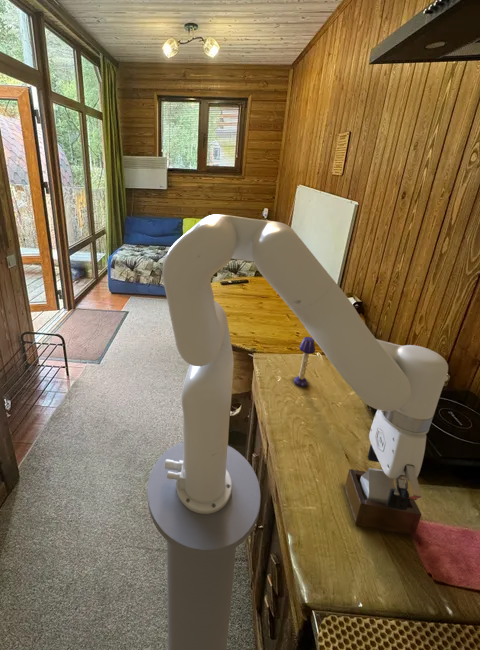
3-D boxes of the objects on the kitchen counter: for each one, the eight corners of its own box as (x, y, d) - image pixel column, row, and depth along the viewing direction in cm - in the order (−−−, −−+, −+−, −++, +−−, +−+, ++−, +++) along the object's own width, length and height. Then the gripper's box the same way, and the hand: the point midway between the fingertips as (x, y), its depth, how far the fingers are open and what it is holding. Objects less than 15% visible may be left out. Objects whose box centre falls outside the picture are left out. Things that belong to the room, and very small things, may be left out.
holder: (355, 524, 61) (360, 503, 59) (344, 488, 68) (349, 468, 66) (414, 535, 59) (421, 514, 57) (396, 497, 66) (403, 477, 64)
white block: (398, 519, 61) (410, 481, 58) (363, 514, 62) (373, 478, 58) (389, 500, 64) (400, 464, 61) (355, 496, 65) (364, 460, 62)
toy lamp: (305, 378, 104) (312, 334, 98) (311, 387, 99) (319, 342, 94) (291, 378, 103) (298, 335, 98) (297, 388, 99) (304, 342, 94)
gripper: (366, 379, 64) (351, 442, 69) (405, 449, 48) (382, 525, 53) (405, 384, 63) (387, 448, 68) (459, 457, 47) (430, 534, 52)
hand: (385, 482), depth 61 cm, fingers open, 9 cm apart
